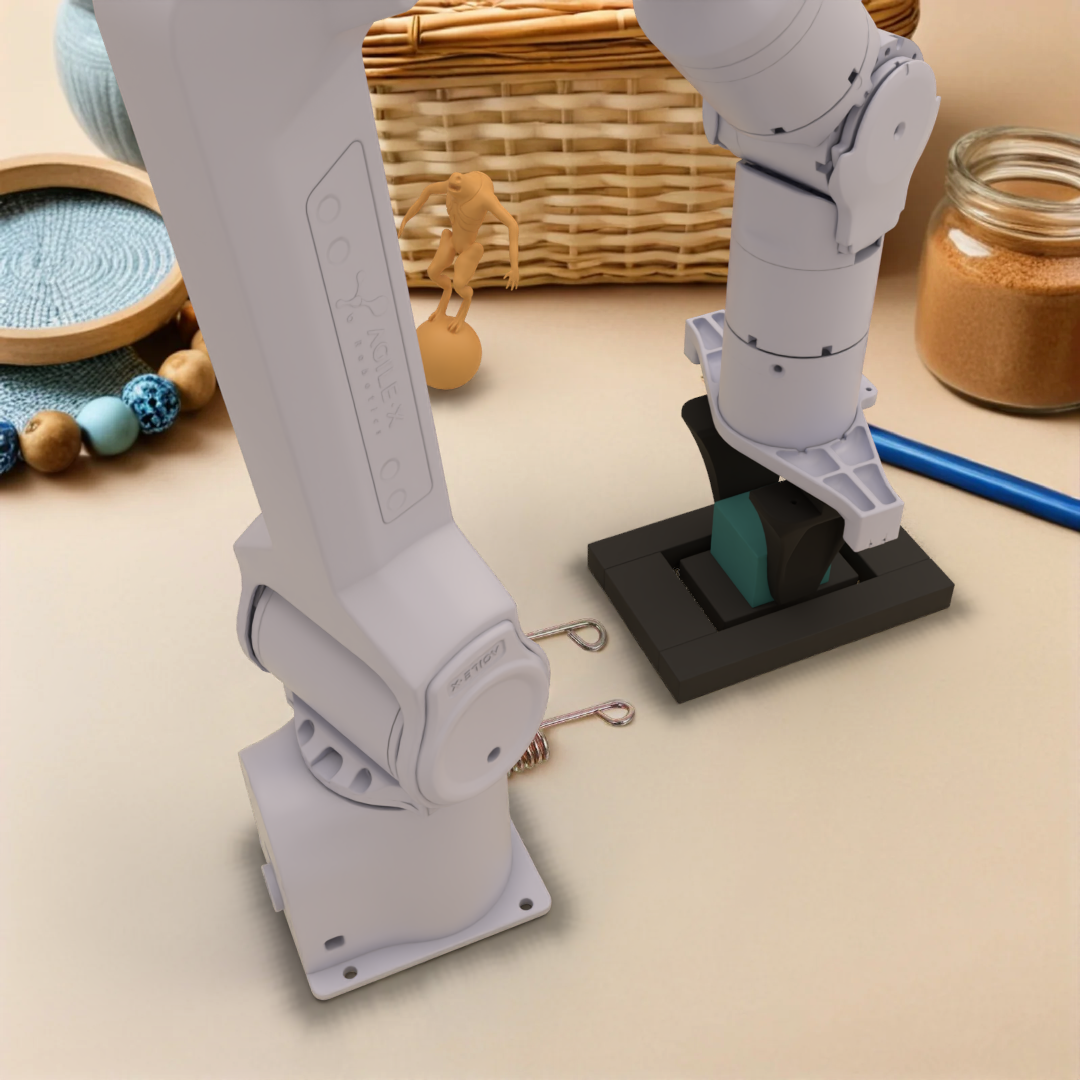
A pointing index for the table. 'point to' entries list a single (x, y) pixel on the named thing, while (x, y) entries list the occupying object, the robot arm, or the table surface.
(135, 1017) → the table surface
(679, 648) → the dark rectangular frame
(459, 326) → the figurine
